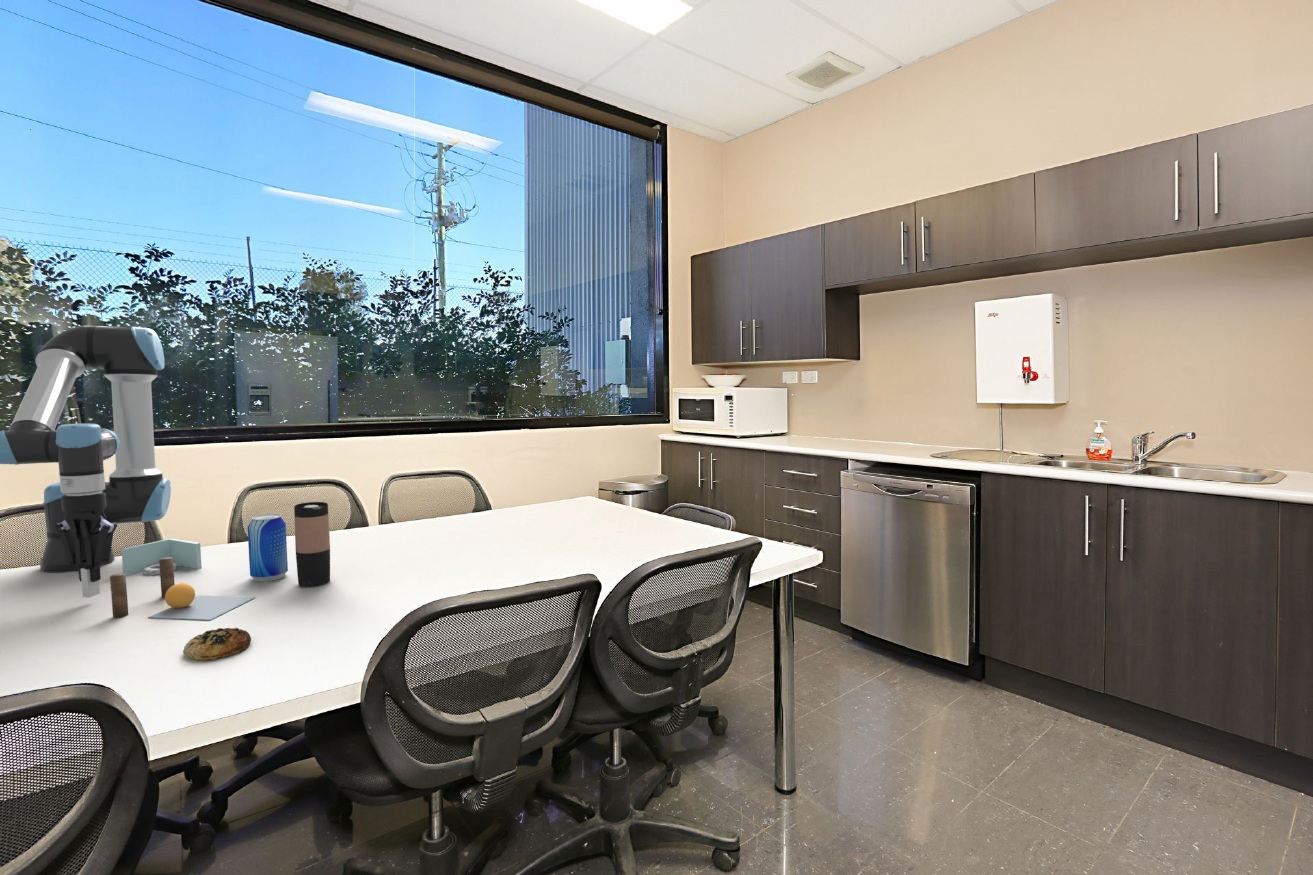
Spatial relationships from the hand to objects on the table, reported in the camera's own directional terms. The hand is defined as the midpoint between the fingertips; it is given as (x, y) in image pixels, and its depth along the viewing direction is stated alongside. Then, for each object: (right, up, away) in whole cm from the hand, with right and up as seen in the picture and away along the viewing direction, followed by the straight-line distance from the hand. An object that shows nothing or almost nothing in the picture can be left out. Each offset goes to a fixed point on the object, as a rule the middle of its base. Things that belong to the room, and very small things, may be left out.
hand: (91, 595), depth 148 cm
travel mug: (+42, -1, +16) cm, 45 cm away
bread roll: (+44, -5, -23) cm, 50 cm away
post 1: (+12, -3, -7) cm, 15 cm away
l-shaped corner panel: (-2, 0, +24) cm, 24 cm away
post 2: (+13, -2, +5) cm, 15 cm away
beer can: (+29, -1, +20) cm, 35 cm away
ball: (+22, 0, -2) cm, 22 cm away
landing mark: (+27, -2, -2) cm, 27 cm away
